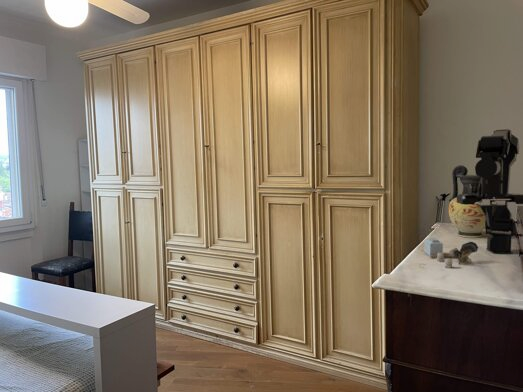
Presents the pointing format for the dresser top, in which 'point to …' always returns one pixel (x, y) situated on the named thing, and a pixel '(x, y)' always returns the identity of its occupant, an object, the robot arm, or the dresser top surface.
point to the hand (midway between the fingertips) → (490, 226)
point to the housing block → (433, 246)
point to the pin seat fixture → (447, 261)
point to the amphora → (466, 206)
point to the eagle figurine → (464, 251)
